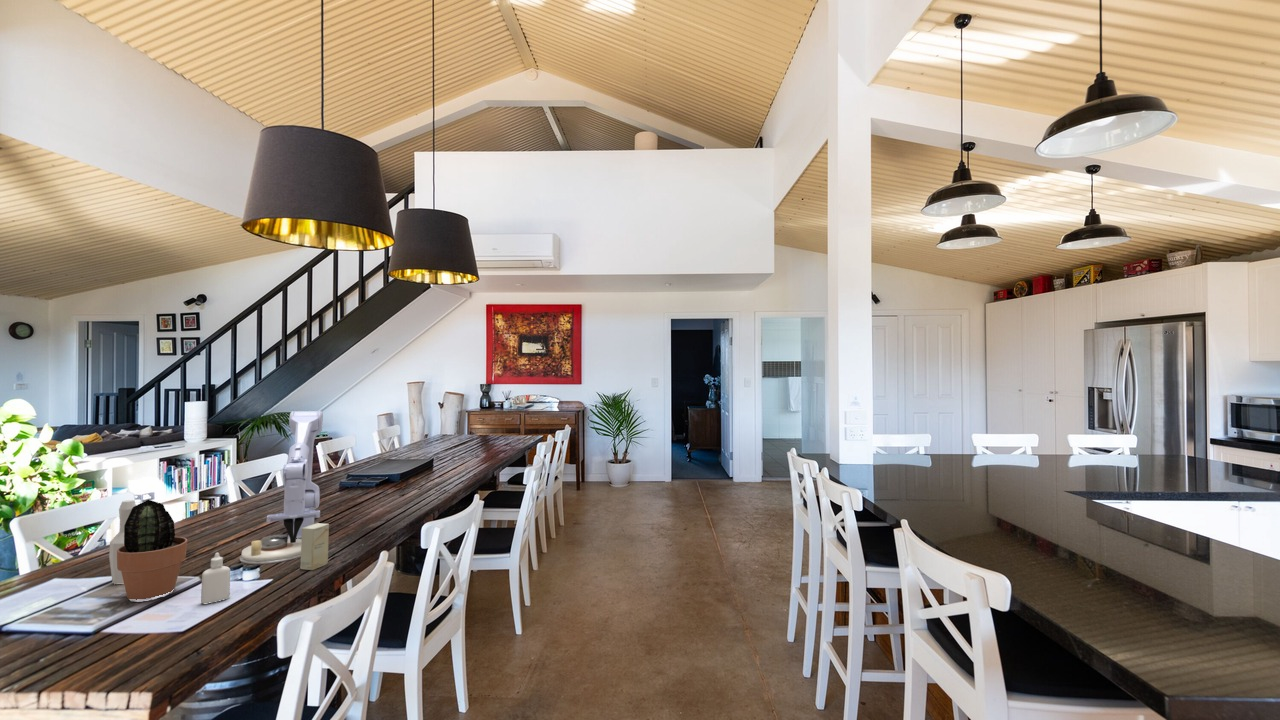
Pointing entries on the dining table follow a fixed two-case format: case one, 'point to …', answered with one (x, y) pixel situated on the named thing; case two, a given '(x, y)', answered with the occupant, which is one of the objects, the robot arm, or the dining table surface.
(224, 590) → the eye dropper bottle
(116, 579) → the faceted bottle
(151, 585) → the potted plant
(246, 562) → the turntable base
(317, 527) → the skincare box
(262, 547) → the cover
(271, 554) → the disc
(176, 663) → the dining table surface
